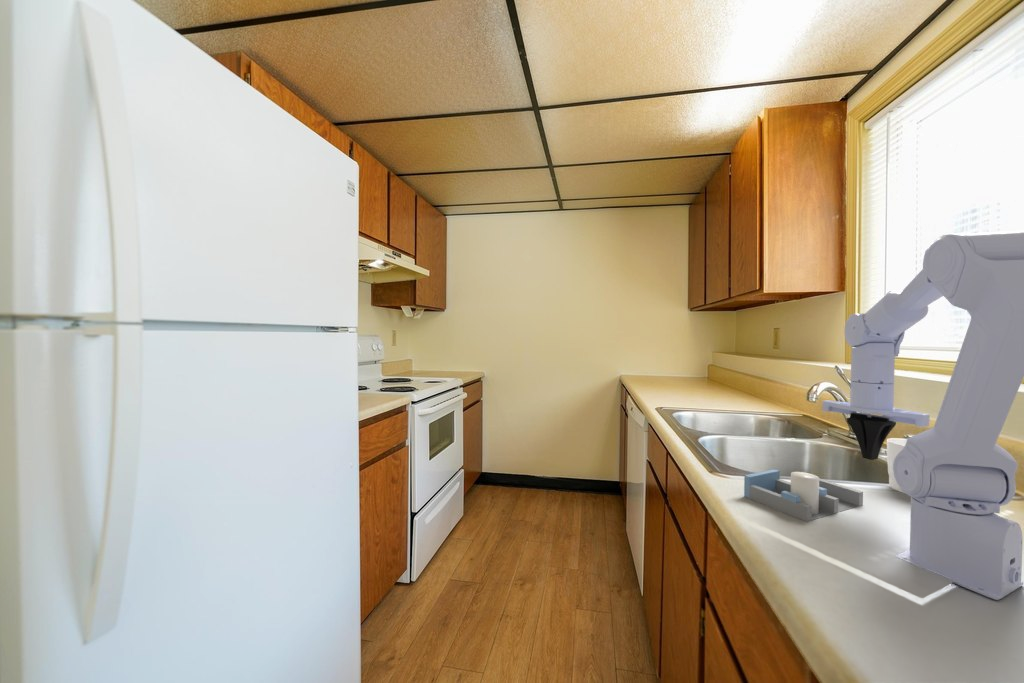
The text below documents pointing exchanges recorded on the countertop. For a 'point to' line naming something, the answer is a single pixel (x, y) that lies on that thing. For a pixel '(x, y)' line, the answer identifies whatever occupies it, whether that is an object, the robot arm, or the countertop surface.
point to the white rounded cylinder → (806, 489)
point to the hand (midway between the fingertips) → (870, 458)
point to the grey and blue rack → (779, 496)
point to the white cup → (892, 450)
